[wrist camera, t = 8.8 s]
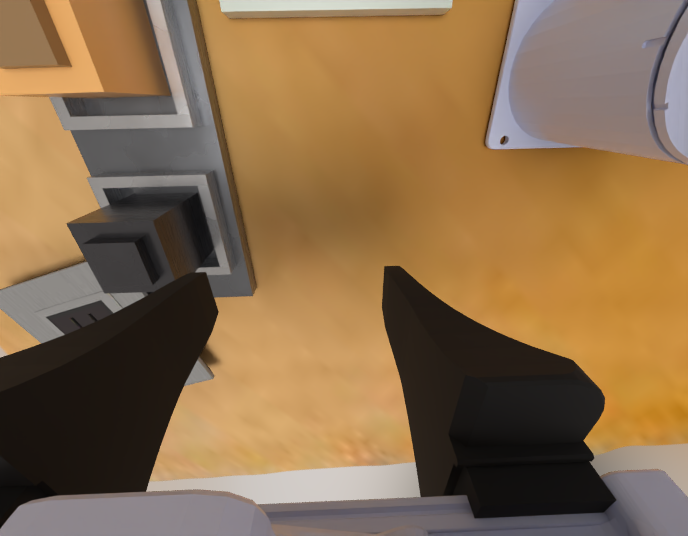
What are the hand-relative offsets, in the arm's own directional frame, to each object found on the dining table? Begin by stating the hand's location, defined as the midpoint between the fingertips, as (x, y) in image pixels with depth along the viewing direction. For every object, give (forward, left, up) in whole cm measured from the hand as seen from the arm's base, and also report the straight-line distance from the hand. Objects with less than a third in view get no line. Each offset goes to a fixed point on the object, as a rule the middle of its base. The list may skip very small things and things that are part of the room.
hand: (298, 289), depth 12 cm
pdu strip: (+9, -5, -9) cm, 14 cm away
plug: (+9, -9, -8) cm, 15 cm away
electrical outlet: (+17, +9, -10) cm, 22 cm away
